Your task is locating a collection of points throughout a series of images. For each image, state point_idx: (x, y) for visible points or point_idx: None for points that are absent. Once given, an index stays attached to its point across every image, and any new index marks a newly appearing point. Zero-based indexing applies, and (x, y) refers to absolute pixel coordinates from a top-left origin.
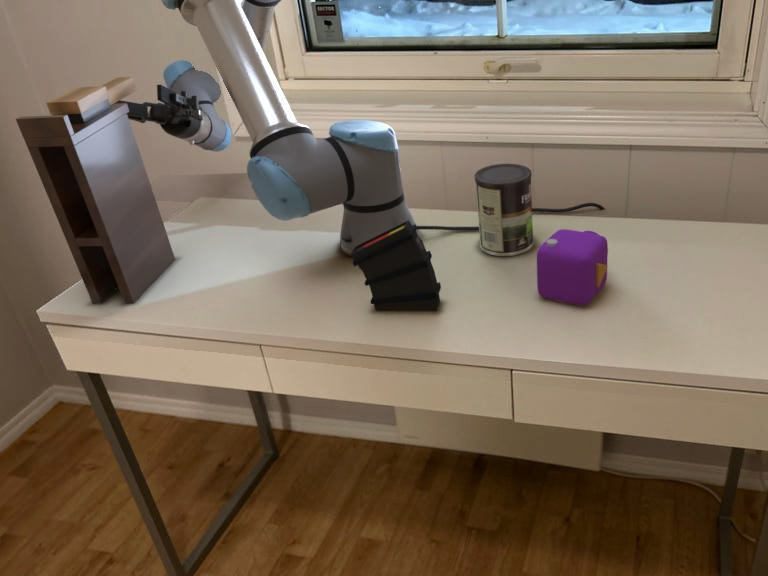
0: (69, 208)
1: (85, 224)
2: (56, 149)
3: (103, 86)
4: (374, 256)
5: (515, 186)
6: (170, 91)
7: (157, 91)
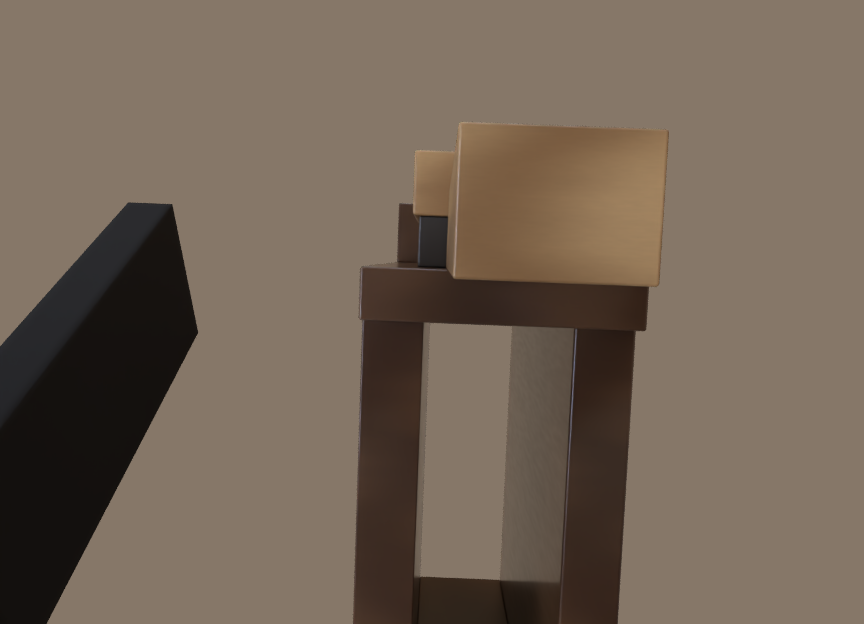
0: (506, 505)
1: (507, 599)
2: (520, 335)
3: (422, 151)
4: None
5: None
6: (38, 332)
7: (181, 264)
